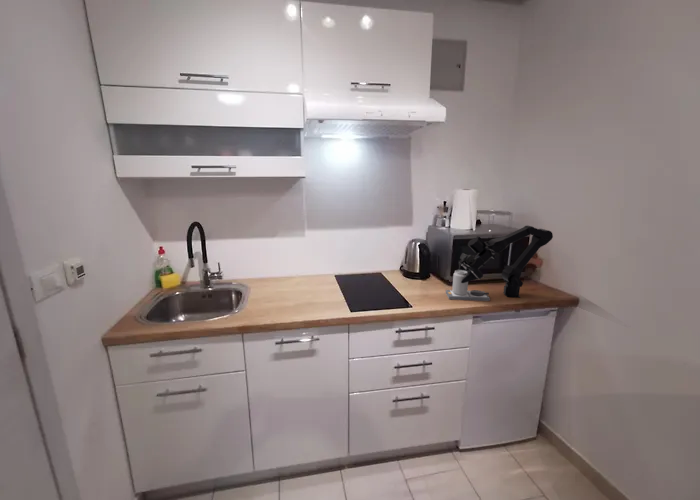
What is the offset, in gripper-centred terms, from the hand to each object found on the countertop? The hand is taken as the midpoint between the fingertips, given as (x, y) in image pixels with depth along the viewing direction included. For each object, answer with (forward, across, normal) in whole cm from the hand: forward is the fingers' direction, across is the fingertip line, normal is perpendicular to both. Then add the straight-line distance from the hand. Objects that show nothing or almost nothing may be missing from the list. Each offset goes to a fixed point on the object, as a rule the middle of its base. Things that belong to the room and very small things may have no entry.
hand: (458, 279), depth 169 cm
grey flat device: (+3, +1, +10) cm, 10 cm away
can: (+4, 0, +6) cm, 8 cm away
